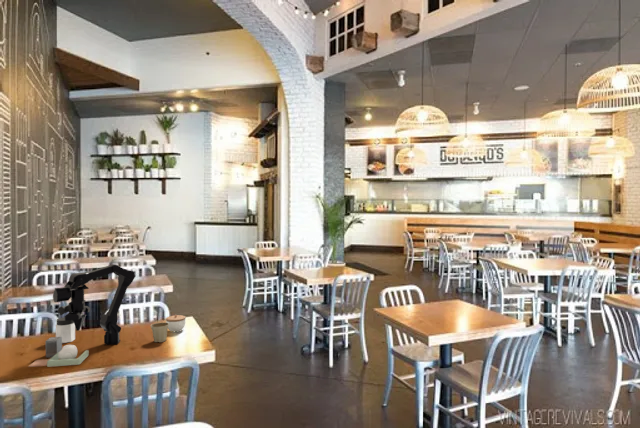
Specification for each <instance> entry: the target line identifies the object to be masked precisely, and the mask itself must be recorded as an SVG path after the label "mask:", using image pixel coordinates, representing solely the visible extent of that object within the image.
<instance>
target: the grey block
mask: <svg viewBox="0 0 640 428" xmlns="http://www.w3.org/2000/svg"><path fill="white" fill-rule="evenodd" d="M44 342H45V343H44V344H45V359H47V358H48V359H49V358H52V357H53V356H54V355H55V354H57V353H58V352H60V351H61V350H62V348H63V343H62V337H56V336H52V337H49V338H47V339H46V340H45V341H44Z"/></svg>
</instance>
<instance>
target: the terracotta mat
mask: <svg viewBox="0 0 640 428" xmlns="http://www.w3.org/2000/svg"><path fill="white" fill-rule="evenodd" d="M49 359H50V358H48V359H47V358H45V359H36V360H34V362H32V363H30V364H29V365H28V368H31V367H43V366H44V367H46V366H47V361H48V360H49Z"/></svg>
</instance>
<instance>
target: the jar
mask: <svg viewBox="0 0 640 428" xmlns="http://www.w3.org/2000/svg"><path fill="white" fill-rule="evenodd" d="M55 337H62V344H66V343H71V342H74V341H75V340H76V327H75V324H74V322H73V320H67V321H65V316H64V317H60V318H57V319H56V325H55Z"/></svg>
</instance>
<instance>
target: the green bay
mask: <svg viewBox="0 0 640 428" xmlns="http://www.w3.org/2000/svg"><path fill="white" fill-rule="evenodd" d="M89 353H90V352H89V349H86V350H84V352H83V353H82V354H80V355H79V356H78V357H75V358H74V359H61V360H60V359H59V357H58V354H59V352H58V353H57V354H55V355H54V356H53V357H50V358H48V359H49V360H48V361H47V367H49V368H50V367H52V368H53V367H62V366H76V365H77V366H78V365H81V364H82V363H83V362H84V361H85V359H86V358H87V357H88V356H89V355H90V354H89Z"/></svg>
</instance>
